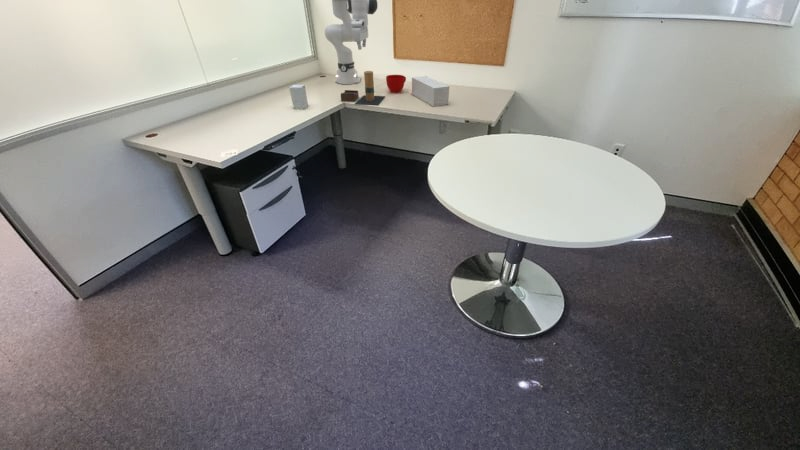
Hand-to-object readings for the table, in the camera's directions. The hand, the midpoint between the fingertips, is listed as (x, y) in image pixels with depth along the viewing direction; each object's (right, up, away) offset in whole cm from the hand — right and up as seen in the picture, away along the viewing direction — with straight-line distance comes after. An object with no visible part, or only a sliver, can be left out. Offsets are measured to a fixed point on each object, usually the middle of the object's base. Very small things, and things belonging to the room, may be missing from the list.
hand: (362, 48), depth 201 cm
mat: (+4, -26, +15) cm, 31 cm away
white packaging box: (-39, -35, +3) cm, 52 cm away
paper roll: (+4, -19, +9) cm, 22 cm away
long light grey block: (+43, -25, +17) cm, 52 cm away
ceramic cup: (+21, -13, +33) cm, 42 cm away
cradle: (-10, -25, +17) cm, 32 cm away
